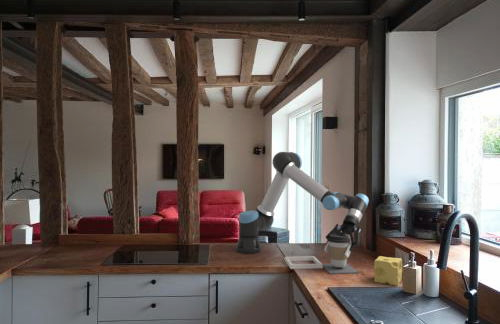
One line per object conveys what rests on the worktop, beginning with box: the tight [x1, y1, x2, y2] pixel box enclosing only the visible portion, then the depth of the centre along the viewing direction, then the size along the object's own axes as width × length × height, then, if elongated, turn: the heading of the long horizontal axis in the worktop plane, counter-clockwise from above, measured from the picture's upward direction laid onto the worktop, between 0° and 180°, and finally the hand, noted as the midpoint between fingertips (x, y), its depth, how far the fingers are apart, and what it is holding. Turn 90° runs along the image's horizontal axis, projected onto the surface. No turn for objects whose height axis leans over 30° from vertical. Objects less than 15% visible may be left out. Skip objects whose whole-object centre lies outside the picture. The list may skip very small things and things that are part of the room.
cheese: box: [373, 255, 403, 287], centre depth 168 cm, size 10×11×10 cm
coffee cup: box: [326, 234, 351, 267], centre depth 186 cm, size 11×11×15 cm
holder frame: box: [284, 255, 324, 270], centre depth 195 cm, size 16×16×2 cm
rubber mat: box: [322, 263, 359, 275], centre depth 186 cm, size 16×14×1 cm
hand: (335, 253), depth 185 cm, fingers closed on coffee cup, 11 cm apart
